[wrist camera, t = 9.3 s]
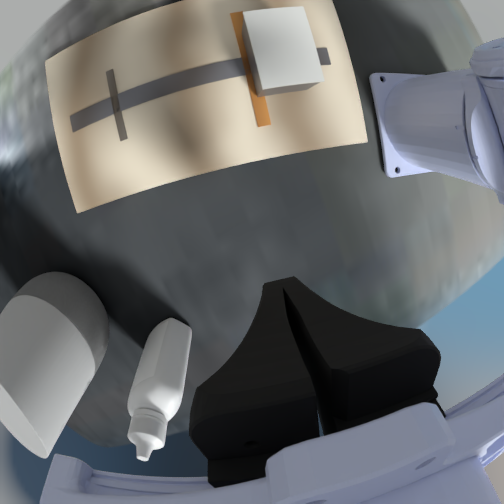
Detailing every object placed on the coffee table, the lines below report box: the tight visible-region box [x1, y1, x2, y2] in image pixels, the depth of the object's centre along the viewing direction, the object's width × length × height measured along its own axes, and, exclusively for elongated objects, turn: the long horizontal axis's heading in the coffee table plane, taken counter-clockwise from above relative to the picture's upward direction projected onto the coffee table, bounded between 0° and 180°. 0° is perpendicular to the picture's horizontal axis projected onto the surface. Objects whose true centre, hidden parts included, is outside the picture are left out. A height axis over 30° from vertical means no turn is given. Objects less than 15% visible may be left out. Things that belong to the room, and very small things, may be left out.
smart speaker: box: [0, 272, 109, 458], centre depth 15 cm, size 10×9×14 cm
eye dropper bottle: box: [127, 318, 192, 461], centre depth 18 cm, size 4×6×12 cm
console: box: [45, 0, 368, 213], centre depth 15 cm, size 20×12×2 cm, turn 102°
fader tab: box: [242, 6, 325, 97], centre depth 12 cm, size 3×4×3 cm
